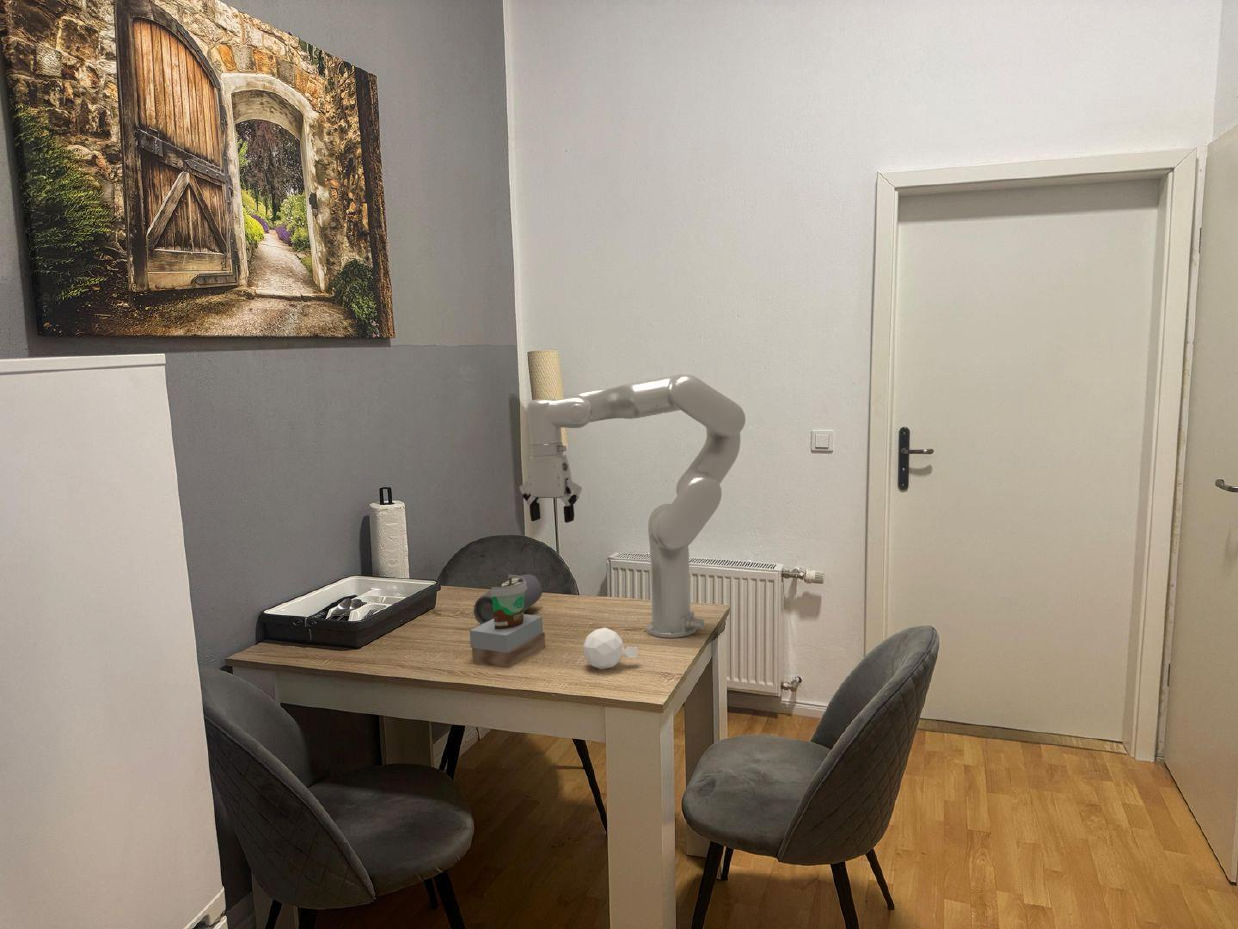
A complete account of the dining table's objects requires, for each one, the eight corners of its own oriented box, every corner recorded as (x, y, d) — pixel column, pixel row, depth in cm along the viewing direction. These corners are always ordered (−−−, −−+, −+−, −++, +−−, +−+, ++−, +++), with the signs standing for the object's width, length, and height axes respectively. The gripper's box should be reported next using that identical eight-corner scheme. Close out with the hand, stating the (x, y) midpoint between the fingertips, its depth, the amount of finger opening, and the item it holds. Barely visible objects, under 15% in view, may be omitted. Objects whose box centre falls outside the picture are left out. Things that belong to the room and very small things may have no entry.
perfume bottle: (580, 668, 184) (636, 673, 184) (584, 625, 185) (640, 630, 186) (580, 667, 192) (634, 671, 193) (584, 625, 194) (637, 630, 194)
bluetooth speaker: (514, 606, 239) (513, 571, 238) (544, 608, 236) (543, 573, 235) (472, 631, 218) (470, 592, 217) (504, 634, 215) (502, 595, 214)
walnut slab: (545, 649, 204) (544, 633, 204) (508, 670, 191) (508, 653, 190) (510, 643, 209) (509, 628, 208) (472, 664, 196) (471, 647, 195)
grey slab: (542, 632, 204) (542, 616, 203) (507, 652, 191) (506, 635, 190) (507, 628, 208) (507, 612, 208) (470, 647, 195) (469, 630, 195)
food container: (518, 632, 192) (516, 588, 191) (492, 631, 193) (490, 587, 192) (535, 615, 204) (533, 574, 203) (510, 614, 205) (509, 574, 204)
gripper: (586, 448, 204) (591, 519, 206) (526, 448, 213) (531, 516, 215) (569, 452, 198) (574, 525, 200) (508, 452, 206) (514, 522, 208)
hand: (552, 520), depth 207 cm, fingers open, 9 cm apart
